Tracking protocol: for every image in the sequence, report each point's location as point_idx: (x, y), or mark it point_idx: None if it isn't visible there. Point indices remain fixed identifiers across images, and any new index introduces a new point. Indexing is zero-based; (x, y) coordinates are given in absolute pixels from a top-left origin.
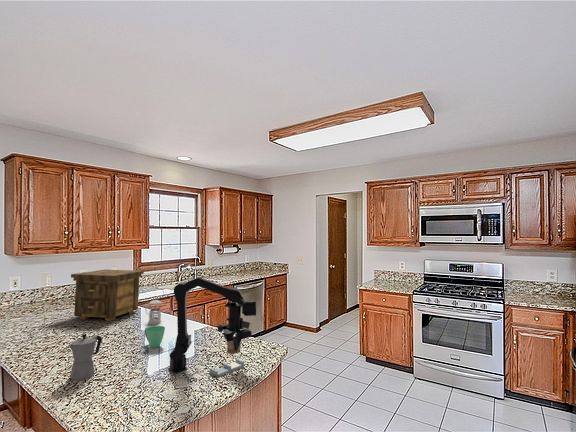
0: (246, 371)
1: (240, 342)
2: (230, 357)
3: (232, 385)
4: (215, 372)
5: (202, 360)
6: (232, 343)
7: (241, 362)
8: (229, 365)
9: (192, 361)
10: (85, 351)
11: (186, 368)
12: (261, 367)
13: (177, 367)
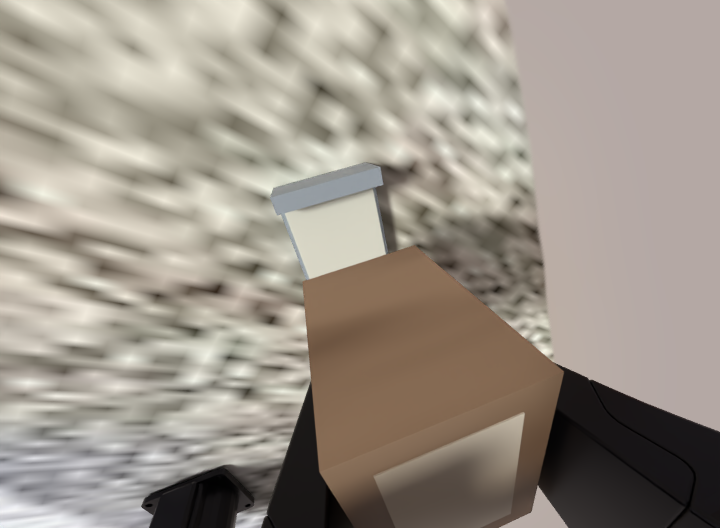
0: (449, 185)
1: (525, 339)
2: (16, 164)
3: (524, 318)
4: None
5: (63, 402)
6: (529, 507)
7: (363, 187)
8: None
9: (71, 452)
10: None
11: (226, 475)
12: (473, 3)
13: (235, 521)
